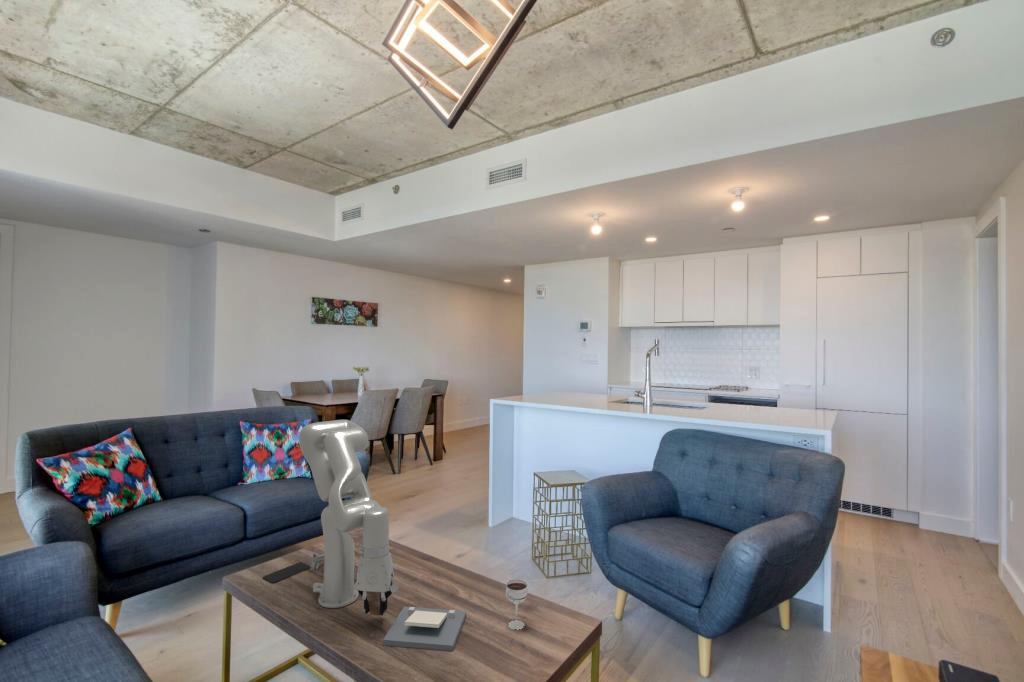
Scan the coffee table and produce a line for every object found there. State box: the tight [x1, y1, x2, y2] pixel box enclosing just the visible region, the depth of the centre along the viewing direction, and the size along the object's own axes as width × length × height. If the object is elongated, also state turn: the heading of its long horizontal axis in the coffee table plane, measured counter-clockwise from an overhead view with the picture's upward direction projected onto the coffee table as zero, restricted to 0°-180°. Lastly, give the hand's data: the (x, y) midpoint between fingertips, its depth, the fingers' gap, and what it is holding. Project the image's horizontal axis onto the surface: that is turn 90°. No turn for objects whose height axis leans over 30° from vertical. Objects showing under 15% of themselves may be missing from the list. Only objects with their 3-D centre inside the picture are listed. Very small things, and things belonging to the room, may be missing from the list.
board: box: [382, 606, 467, 652], centre depth 140 cm, size 20×17×3 cm
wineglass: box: [505, 579, 529, 631], centre depth 143 cm, size 7×7×12 cm
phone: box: [262, 561, 310, 584], centre depth 174 cm, size 7×1×15 cm
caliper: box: [309, 552, 324, 572], centre depth 184 cm, size 20×1×6 cm, turn 151°
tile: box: [405, 611, 447, 628], centre depth 140 cm, size 10×10×1 cm
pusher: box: [366, 592, 385, 617], centre depth 142 cm, size 4×4×10 cm
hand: (375, 611), depth 142 cm, fingers closed on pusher, 4 cm apart
